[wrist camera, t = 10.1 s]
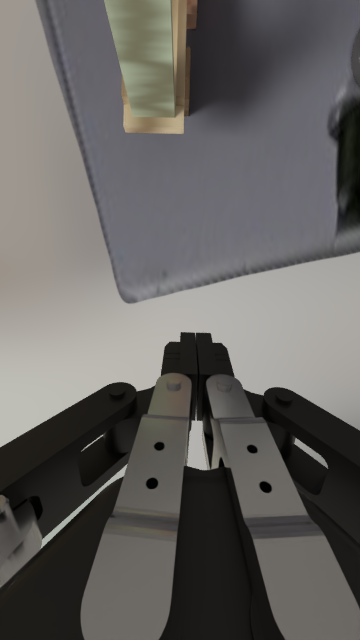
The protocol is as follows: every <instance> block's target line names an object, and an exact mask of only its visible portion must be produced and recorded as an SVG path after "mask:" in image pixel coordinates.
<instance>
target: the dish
mask: <svg viewBox="0 0 360 640" xmlns="http://www.w3.org/2000/svg"><path fill="white" fill-rule="evenodd" d="M196 21H197V0H187V25H186V29H196Z"/></svg>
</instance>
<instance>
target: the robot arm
mask: <svg viewBox="0 0 360 640" xmlns="http://www.w3.org/2000/svg"><path fill="white" fill-rule="evenodd" d="M352 70H353V75H354V78H355V80H356V82H357V84H358V85H359V86H360V30H359V32H358V34H357V36H356V39H355V42H354V46H353V51H352ZM196 414H197V421H198V420H199V421H203V431H202V439H203V445H204V451H205V457H206V463H207V470H199V469H195V468H192V467H188V466H187V458H188V446H189V432H190V430H191V424H192V423H191V421H192V420H195V415H196ZM102 434H103V436H102V437H101V438H99V439H98V440H97V441H95V442H94V443H93V444H91V445H90V446H88V447H87V448H86V449H84V448H85V447H86V446H87V445H88V444H90V443H91V442H93V441H94V440H96V439H97V438H98V437H100V436H101V435H102ZM295 438H297V439H299V440H300V441H301V442H303V443H304V444H306V445H307V446H309V447H310V448H311V449H313V450H314V451H315V452H317V453H318V454H320V455H321V456H322V457H323V458H324V459H325V461H326V463H327V465H328V469H327V468H326V467H325V466H323V465H322V464H321V463H319V462H318V461H317V460H315V459H314V458H313V457H311V456H310V455H308V454H307V453H306V452H304V451H303V450H302V449H300V448H299V447H298V446H296V445H295V444H294V442H295ZM83 449H84V450H83ZM82 450H83V451H82ZM81 451H82V452H81ZM126 464H128V465H127V468H126V471H125V475H124V477H122V478H119V479H118V480H116V481H114V482H113V483H111V484H110V485H109V486H107V487H106V488H105V489H104V490H102V491H101V492H100V493H99V494H98V495H97V496H96V497H95V498H94V499H93V500H92V501H91V502H90V503H89V504H88V505H87V506H85V507H84V509H82V510H81V511H80V512H79V513H78V514H77V515H76V516H75V517H74V518H73V519H72V520H71V521H70V522H69V523H68V524H67V525H66V526H65V527H64V528H63V529H61V530H60V531H59V532H58V533H57V534H56V535H55V536H54V537H53V538H52V539H51V540H50V541H49V542H48V543H47V544H46V545H45V546H44V547H43V548H41V544H42V539H43V538H44V537H45V536H46V535H48V534H49V533H50V532H51V531H52V530H53V529H54V528H55V527H56V526H58V525H59V524H60V523H61V522H62V521H63V520H64V519H66V518H67V517H68V516H69V515H70V514H71V513H72V512H73V511H75V510H76V509H77V508H78V507H79V506H80V505H81V504H82V503H84V502H85V501H86V500H87V499H88V498H89V497H90V496H92V495H93V494H94V493H95V492H96V491H97V490H98V489H99V488H100V487H102V486H103V485H104V484H105V483H106V482H107V481H108V480H110V479H111V478H112V477H113V476H114V475H115V474H116V473H117V472H119V471H120V470H121V469H122V468H123V467H124V466H125V465H126ZM40 548H41V549H40ZM0 640H360V431H359V430H358V429H356V428H354V427H353V426H351V425H349V424H347V423H346V422H344V421H342V420H341V419H339V418H337V417H336V416H334V415H332V414H330V413H329V412H327V411H325V410H324V409H322V408H320V407H318V406H317V405H315V404H313V403H312V402H310V401H308V400H307V399H305V398H303V397H302V396H300V395H298V394H296V393H295V392H293V391H291V390H288V389H285V388H280V387H274V388H270V389H268V390H266V391H265V393H264V396H263V395H259V394H255V393H251V392H249V391H246V390H244V389H243V387H242V385H241V383H240V382H239V380H237V379H236V378H235V377H234V373H233V369H232V365H231V362H230V358H229V354H228V351H227V348H226V347H225V346H224V345H223V344H222V343H212V338H211V334H210V333H196V340H195V333H186V332H181V336H180V342H169V343H168V344H167V345H166V346H165V350H164V356H163V364H162V370H161V377H159V379H158V380H157V382H156V385H155V386H153V387H152V388H149V389H146V390H142V391H137V392H136V389H135V387H134V386H132V385H131V384H128V383H124V382H117V383H112V384H109V385H107V386H105V387H103V388H102V389H100V390H98V391H97V392H95V393H93V394H91V395H90V396H88V397H86V398H85V399H83V400H81V401H79V402H78V403H76V404H74V405H72V406H71V407H69V408H67V409H66V410H64V411H62V412H60V413H59V414H57V415H55V416H54V417H52V418H50V419H48V420H47V421H45V422H43V423H41V424H40V425H38V426H36V427H35V428H33V429H31V430H29V431H28V432H26V433H24V434H23V435H21V436H19V437H17V438H16V439H14V440H12V441H11V442H9V443H7V444H6V445H4V446H2V447H0Z"/></svg>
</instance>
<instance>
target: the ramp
mask: <svg viewBox="0 0 360 640" xmlns="http://www.w3.org/2000/svg"><path fill="white" fill-rule="evenodd" d="M104 2H105V6H106V10H107V14H108V18H109V22H110V26H111V30H112V34H113V39H114V43H115V47H116V51H117V55H118V59H119V63H120V67H121V71H122V91H121V95H122V99H123V102H124V129H125V132H129V133H173V134H184V98H185V61H186V25H187V0H104Z"/></svg>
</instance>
